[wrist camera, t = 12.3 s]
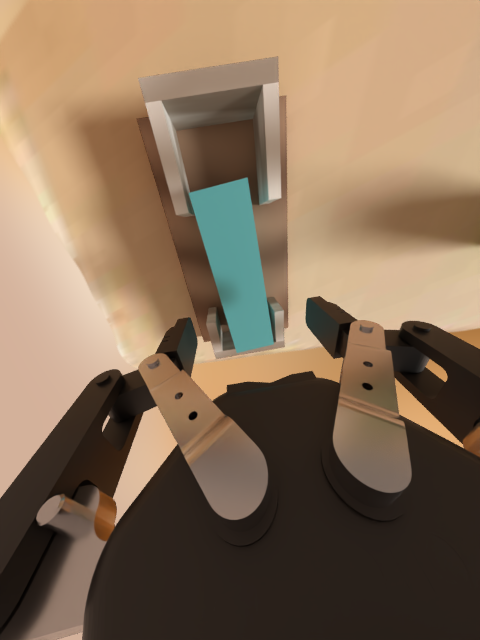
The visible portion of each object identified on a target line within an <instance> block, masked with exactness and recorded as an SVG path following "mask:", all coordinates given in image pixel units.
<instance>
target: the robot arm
mask: <svg viewBox="0 0 480 640" xmlns="http://www.w3.org/2000/svg"><path fill="white" fill-rule="evenodd" d="M306 324H307V326H308V328H309V329H310V330H311V332H312V333H313V334H314V335H315V336H316V338H317V339H318V340H319V341H320V343H321V344H322V345H323V346H324V347H325V349H326V350H327V351H328V352H329V354H331V356H332V357H333V358H334V359H335V358H340V357H343V359H344V360H343V364H342V370H341V375H340V381H339V383H337V382H335V381H332V380H328V379H324V378H316V377H315V375H314V373H313V372H312V371H309V372H303V373H297V374H292V375H289V376H286V377H284V378H282V379H279V380H277V381H274V382H272V383H262V382H243V383H238V384H232V385H227V392H226V393H224V394H222V395H220V396H219V397H217V398H216V399H214V400H213V401H211V399H209V397H208V396H207V395H206V394H205V393H204V392H203V391H202V390H201V388H200V387H199V386H198V385H197V384H196V383H195V382H194V381H193V380H192V379H191V373H192V368H193V364H194V359H195V354H196V349H197V336H196V333H195V330H194V327H193V324H192V321H191V318H190V317H188V318H182V319H178V320H177V323H176V325H175V327H171V328H170V329H169V330H168V331H167V332H166V334H165V336H164V338H163V340H162V342H161V343H160V345H159V347H158V349H157V351H156V353H155V354H154V355H151V356H149V357H147V358H146V359H144V360H143V361H142V362H141V363H140V365H139V367H138V370H136V371H133V372H131V373H128V374H125V375H122V374H121V372H120V371H119V370H116V369H113V370H109V371H106V372H104V373H102V374H100V375H98V376H97V377H95V378H94V379H93V380H92V381H91V382H90V383H89V384H88V385H87V386H86V388H85V389H84V390H83V392H82V393H81V394H80V396H79V397H78V398H77V399H76V401H75V402H74V403H73V405H72V406H71V407H70V409H69V410H68V411H67V412H66V414H65V415H64V416H63V418H62V419H61V420H60V422H59V423H58V424H57V425H56V427H55V428H54V429H53V431H52V432H51V433H50V435H49V436H48V437H47V439H46V440H45V441H44V443H43V444H42V445H41V446H40V448H39V449H38V450H37V452H36V453H35V454H34V455H33V457H32V458H31V459H30V461H29V462H28V463H27V465H26V466H25V467H24V468H23V470H22V471H21V472H20V474H19V475H18V476H17V478H16V479H15V480H14V482H13V483H12V484H11V485H10V487H9V488H8V489H7V491H6V492H5V493H4V494H3V496H2V497H1V498H0V640H57V639H60V638H64V637H67V636H70V635H74V634H78V633H80V632H83V636H82V640H480V349H478V348H476V347H474V346H473V345H471V344H469V343H467V342H465V341H463V340H461V339H459V338H457V337H455V336H453V335H452V334H450V333H448V332H446V331H444V330H442V329H440V328H438V327H436V326H434V325H432V324H429V323H425V322H420V321H407V322H404V323H403V324H402V326H401V328H400V330H384V329H383V327H382V326H381V325H379V324H377V323H375V322H371V321H365V320H357V319H355V318H354V317H352V316H351V315H350V314H348V313H347V312H345V311H344V310H343V309H341V308H340V307H339V306H337V305H336V304H333V303H330V302H327V301H325V300H324V299H323V298H322V297H320V296H318V297H312V298H308V299H307V303H306ZM429 359H431V360H432V361H434V362H435V363H437V364H438V365H440V366H441V367H442V368H443V369H444V370H445V371H446V373H447V376H448V379H447V381H446V382H444V381H443V380H441V379H440V378H439V377H437V376H436V375H435V374H434V373H432V372H431V371H430V370H428V369H427V368H426V367H425V366H426V365H427V362H428V361H429ZM394 377H395V378H396V379H397V380H398V381H399V382H400V383H401V384H402V385H403V386H404V387H405V388H406V389H407V390H408V391H409V392H410V393H411V394H412V395H413V396H414V397H415V398H416V399H417V400H418V401H419V402H420V403H421V404H422V405H423V406H424V407H425V408H426V409H427V410H428V411H429V412H430V413H431V414H432V415H433V416H434V417H435V418H436V419H438V420H439V422H441V423H442V424H443V425H444V426H445V427H446V428H447V429H448V430H449V431H450V432H451V433H452V434H453V435H454V436H455V437H456V438H457V439H458V440H459V441H460V442H461V443H462V444H463V447H464V448H462V447H460V446H458V445H456V444H454V443H452V442H451V441H449V440H446V439H445V438H443V437H441V436H439V435H437V434H435V433H433V432H432V431H430V430H428V429H426V428H424V427H422V426H420V425H418V424H416V423H414V422H412V421H411V420H409V419H407V418H405V417H403V416H401V415H399V410H398V403H397V394H396V386H395V378H394ZM156 406H158V408H159V410H160V412H161V413H162V415H163V417H164V419H165V421H166V423H167V425H168V427H169V428H170V430H171V432H172V434H173V436H174V438H175V440H176V441H177V443H178V444H177V446H176V447H175V448H174V449H173V451H172V452H171V453H170V455H169V456H168V457H167V459H166V460H165V461H164V463H163V464H162V465H161V466H160V468H159V469H158V471H157V472H156V473H155V474H154V476H153V477H152V478H151V479H150V481H149V482H148V483H147V485H146V486H145V487H144V489H143V490H142V491H141V493H140V494H139V495H138V497H137V498H136V499H135V500H134V502H133V503H132V504H131V506H130V507H129V508H128V509H127V511H126V512H125V513H124V515H123V516H122V517H121V519H120V520H119V522H118V523H117V525H116V526H115V524H114V523H115V519H116V513H117V507H116V502H115V501H114V500H113V496H114V493H115V491H116V487H117V485H118V482H119V479H120V476H121V474H122V471H123V468H124V465H125V463H126V460H127V457H128V454H129V452H130V449H131V446H132V443H133V440H134V437H135V435H136V432H137V429H138V426H139V423H140V421H141V418H142V415H143V412H145V411H147V410H149V409H151V408H153V407H156ZM108 415H109V416H110V419H109V421H108V423H107V425H106V427H105V429H104V431H103V432H102V426H103V423H104V421H105V419H106V418H107V416H108Z"/></svg>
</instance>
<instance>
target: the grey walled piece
mask: <svg viewBox="0 0 480 640" xmlns="http://www.w3.org/2000/svg"><path fill="white" fill-rule="evenodd" d="M138 79H139V83H140V87H141V90H142V94H143V98H144V101H145V105H146V108H147V112H148V116H149V117H146V118H139V119H137V121H138V125H139V128H140V131H141V135H142V138H143V141H144V144H145V148H146V151H147V154H148V158H149V161H150V164H151V168H152V171H153V174H154V178H155V181H156V184H157V188H158V191H159V194H160V197H161V201H162V204H163V207H164V211H165V214H166V217H167V221H168V224H169V227H170V231H171V234H172V237H173V241H174V244H175V247H176V250H177V254H178V257H179V260H180V264H181V267H182V270H183V274H184V277H185V280H186V284H187V287H188V290H189V294H190V297H191V300H192V303H193V307H194V310H195V313H196V317H197V320H198V323H199V327H200V330H201V333H202V337H203V340H204V342H207V341H211V343H212V346H213V350H214V354H215V357H216V359H219V358H225V357H231V356H236V355H242V354H248V353H254V352H260V351H265V350H271V349H277V348H283V347H285V345H284V328H288V253H287V137H286V96H280V97H279V73H278V57H272V58H265V59H259V60H252V61H246V62H239V63H233V64H226V65H220V66H213V67H207V68H200V69H194V70H187V71H181V72H174V73H168V74H161V75H155V76H148V77H142V78H138ZM247 177H248V184H249V190H250V196H251V203H252V209H253V215H254V222H255V228H256V234H257V241H258V247H259V253H260V259H261V266H262V272H263V278H264V285H265V291H266V297H267V304H268V310H269V316H270V323H271V329H272V335H273V342H274V344H273V345H269V346H265V347H261V348H256V349H252V350H248V351H244V352H240V353H237V352H236V349H235V346H234V342H233V339H232V336H231V333H230V329H229V326H228V323H227V319H226V316H225V313H224V309H223V306H222V303H221V299H220V296H219V293H218V289H217V286H216V283H215V279H214V276H213V273H212V269H211V266H210V263H209V259H208V256H207V253H206V250H205V246H204V243H203V240H202V236H201V233H200V230H199V226H198V223H197V220H196V216H195V213H194V210H193V206H192V203H191V200H190V196H189V193H190V192H194V191H198V190H202V189H206V188H209V187H213V186H217V185H221V184H225V183H228V182H232V181H236V180H240V179H244V178H247Z"/></svg>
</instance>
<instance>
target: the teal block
mask: <svg viewBox="0 0 480 640" xmlns="http://www.w3.org/2000/svg"><path fill="white" fill-rule="evenodd" d="M189 196H190V200H191V203H192V206H193V210H194V213H195V216H196V220H197V223H198V226H199V230H200V233H201V236H202V240H203V243H204V246H205V250H206V253H207V256H208V259H209V263H210V266H211V269H212V273H213V276H214V279H215V283H216V286H217V289H218V293H219V296H220V299H221V303H222V306H223V309H224V313H225V316H226V319H227V323H228V326H229V329H230V333H231V336H232V339H233V342H234V346H235V349H236V352H237V353H240V352H244V351H248V350H252V349H256V348H261V347H265V346H269V345H273V344H274V342H273V335H272V329H271V323H270V316H269V310H268V304H267V297H266V291H265V285H264V278H263V272H262V266H261V259H260V253H259V247H258V241H257V234H256V228H255V222H254V215H253V209H252V203H251V196H250V190H249V184H248V177H247V178H244V179H240V180H236V181H232V182H228V183H225V184H221V185H217V186H213V187H209V188H206V189H202V190H198V191H194V192H190V193H189Z"/></svg>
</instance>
